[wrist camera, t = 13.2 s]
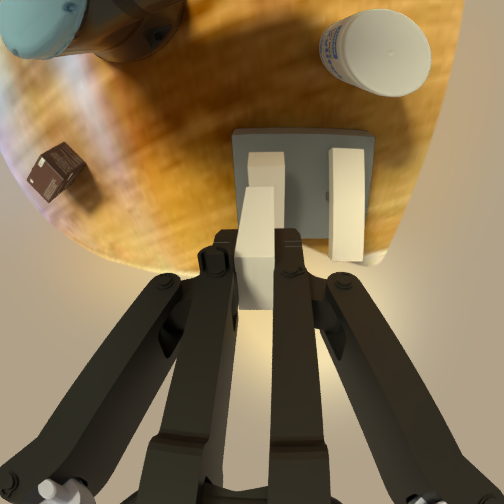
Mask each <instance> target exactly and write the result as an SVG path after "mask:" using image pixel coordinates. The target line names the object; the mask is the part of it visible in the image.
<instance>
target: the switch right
mask: <svg viewBox="0 0 504 504" xmlns="http://www.w3.org/2000/svg"><path fill="white" fill-rule="evenodd" d="M328 153H329V252H328V257H329V258H330V259H331V261H333V262H337V261H338V262H345V261H363V248H364V217H365V170H364V149H349V148H332V149H330V150H329V151H328Z"/></svg>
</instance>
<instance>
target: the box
mask: <svg viewBox="0 0 504 504" xmlns="http://www.w3.org/2000/svg"><path fill="white" fill-rule="evenodd" d="M84 166H85V162H84V161H83V160H82V159H81V158H80V157H79V156H78V155H77V154H76V153H75V152H74V151H73V150H72V149H71V148H70V147H69V146H68V145H67V144H66V143H65V142H63V143H61V144H59V145H57V146H55V147H53V148H52V149H50V150H48V151H46V152H45V153H43V154H41V155H40V156H39V158H38V160H37V162H36V163H35V165H34V166H33V168H32V171H31V173H30V174H29V176H28V178H27V181H28V182H29V183H30V184H31V185H32V186H33V187H34V189H35V190H36V191H37V192H38V193H39V194H40V195H41V196H42V197H43V198H44V199H45V200H46V201H47V202H48V203H50V202H51V201H52V200H53V199H54V198H55V197H56V196H58V195H59V194H60V193H61V192H62V191H64V190H65V189H66V188H67V187H69V186H70V185H71V184H72V182H73V181H74V179H75V178H76V177H77V176H78V174H79V173H80V171H81V170H82V168H83V167H84Z"/></svg>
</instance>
